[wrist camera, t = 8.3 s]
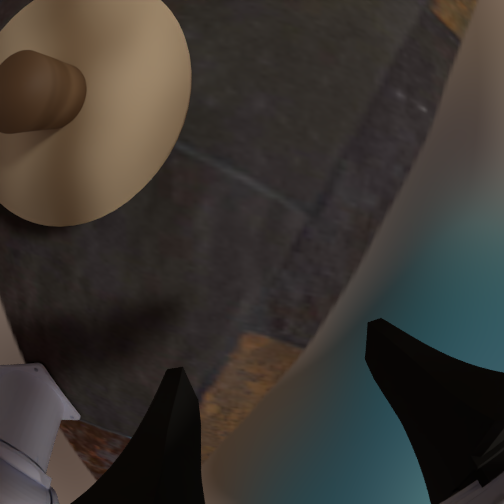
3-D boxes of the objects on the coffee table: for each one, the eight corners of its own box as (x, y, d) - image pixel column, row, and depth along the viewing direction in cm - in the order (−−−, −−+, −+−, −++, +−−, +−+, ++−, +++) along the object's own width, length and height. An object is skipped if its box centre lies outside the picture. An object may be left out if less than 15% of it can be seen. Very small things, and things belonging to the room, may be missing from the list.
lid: (7, 245, 13) (-37, 281, 9) (-30, 48, 8) (-77, 41, 4) (215, 186, 13) (219, 211, 10) (172, -44, 9) (164, -92, 5)
